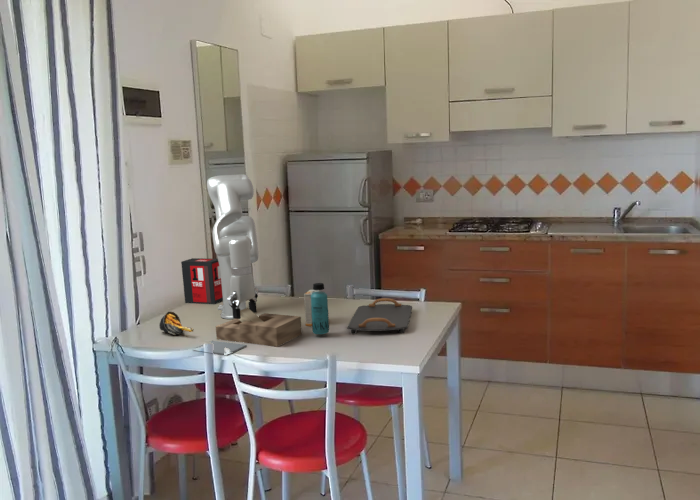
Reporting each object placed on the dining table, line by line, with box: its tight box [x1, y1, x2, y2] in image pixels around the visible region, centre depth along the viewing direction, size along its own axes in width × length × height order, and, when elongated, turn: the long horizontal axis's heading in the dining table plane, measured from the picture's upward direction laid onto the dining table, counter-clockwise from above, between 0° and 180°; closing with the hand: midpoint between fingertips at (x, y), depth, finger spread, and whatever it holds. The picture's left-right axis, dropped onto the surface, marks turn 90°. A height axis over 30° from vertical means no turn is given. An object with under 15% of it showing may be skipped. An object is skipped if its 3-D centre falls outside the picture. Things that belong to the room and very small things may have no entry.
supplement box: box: [303, 289, 321, 327], centre depth 261 cm, size 8×5×13 cm, turn 168°
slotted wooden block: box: [215, 312, 303, 348], centre depth 247 cm, size 28×16×7 cm, turn 61°
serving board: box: [347, 297, 413, 335], centre depth 259 cm, size 39×23×6 cm, turn 171°
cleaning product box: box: [180, 257, 223, 305], centre depth 310 cm, size 16×9×20 cm, turn 69°
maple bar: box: [239, 307, 263, 323], centre depth 247 cm, size 13×5×4 cm
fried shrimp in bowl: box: [159, 311, 194, 336], centre depth 257 cm, size 9×11×18 cm
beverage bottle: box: [311, 282, 330, 335], centre depth 243 cm, size 6×7×20 cm
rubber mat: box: [195, 340, 248, 356], centre depth 235 cm, size 16×11×1 cm
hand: (245, 315), depth 249 cm, fingers open, 9 cm apart
